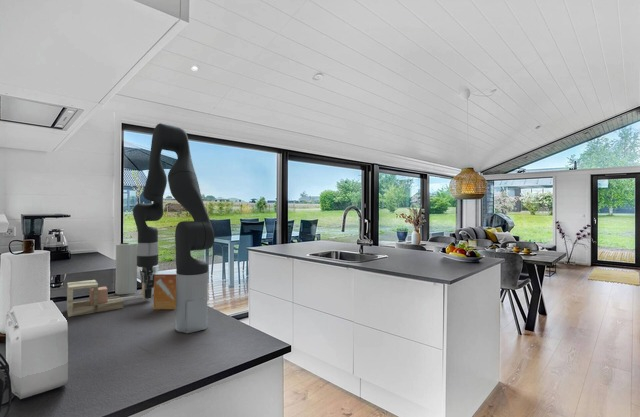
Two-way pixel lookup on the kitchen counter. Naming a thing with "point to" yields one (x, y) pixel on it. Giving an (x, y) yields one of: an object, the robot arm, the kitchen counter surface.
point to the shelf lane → (84, 306)
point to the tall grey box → (126, 268)
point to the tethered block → (104, 299)
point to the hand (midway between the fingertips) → (147, 297)
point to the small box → (165, 290)
